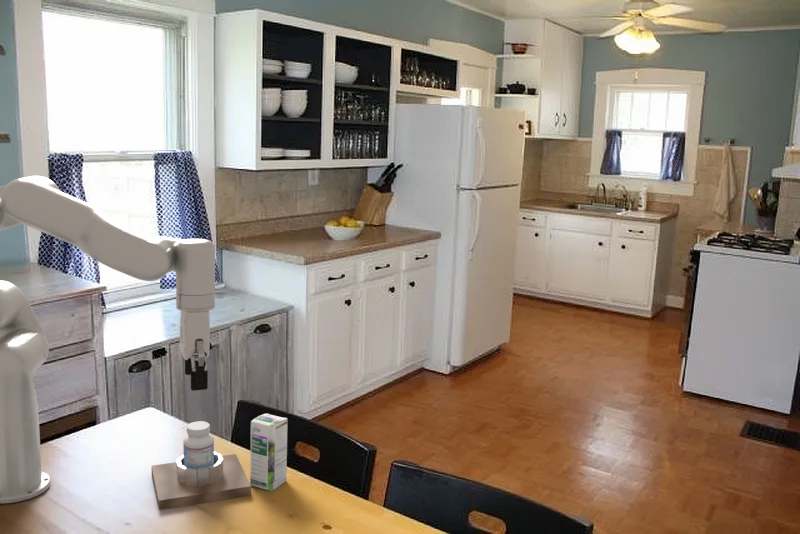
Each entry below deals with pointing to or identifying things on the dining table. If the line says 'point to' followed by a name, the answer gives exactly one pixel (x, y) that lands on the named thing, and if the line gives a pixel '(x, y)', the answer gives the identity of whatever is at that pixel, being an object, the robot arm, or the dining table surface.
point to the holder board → (182, 495)
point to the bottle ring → (199, 472)
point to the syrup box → (268, 451)
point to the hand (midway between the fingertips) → (195, 381)
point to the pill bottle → (198, 446)
